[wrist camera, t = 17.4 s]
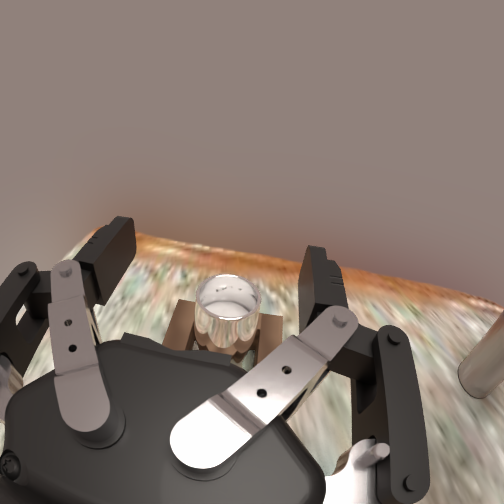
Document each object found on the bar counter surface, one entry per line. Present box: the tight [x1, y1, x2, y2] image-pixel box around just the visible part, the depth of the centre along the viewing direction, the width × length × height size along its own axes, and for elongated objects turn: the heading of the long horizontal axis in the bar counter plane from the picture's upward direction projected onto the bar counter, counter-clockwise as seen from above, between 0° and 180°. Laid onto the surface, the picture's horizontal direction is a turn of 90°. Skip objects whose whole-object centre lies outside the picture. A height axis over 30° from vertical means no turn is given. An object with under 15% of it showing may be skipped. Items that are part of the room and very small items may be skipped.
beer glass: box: [194, 274, 261, 369], centre depth 34 cm, size 7×7×15 cm
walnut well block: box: [162, 299, 283, 368], centre depth 37 cm, size 15×15×5 cm
